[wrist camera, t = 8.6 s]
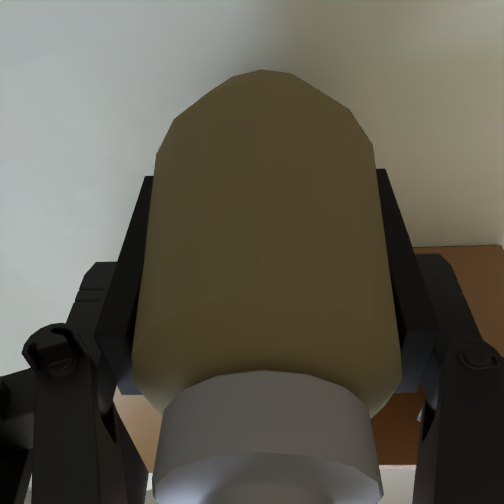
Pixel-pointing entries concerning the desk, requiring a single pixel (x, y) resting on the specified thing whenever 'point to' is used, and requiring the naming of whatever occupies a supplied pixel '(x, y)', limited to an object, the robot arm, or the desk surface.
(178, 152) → the squeeze bottle
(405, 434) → the wooden box
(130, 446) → the travel mug
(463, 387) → the robot arm
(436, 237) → the desk surface
